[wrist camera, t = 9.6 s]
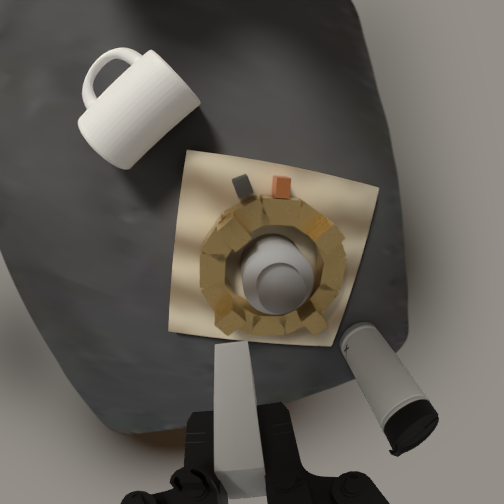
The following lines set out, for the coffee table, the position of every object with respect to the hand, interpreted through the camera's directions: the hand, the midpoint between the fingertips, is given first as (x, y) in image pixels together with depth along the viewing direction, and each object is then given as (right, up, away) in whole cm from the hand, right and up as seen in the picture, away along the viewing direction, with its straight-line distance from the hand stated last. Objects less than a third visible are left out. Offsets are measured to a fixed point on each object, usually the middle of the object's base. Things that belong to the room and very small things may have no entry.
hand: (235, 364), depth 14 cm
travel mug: (+16, -8, +28) cm, 34 cm away
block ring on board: (+3, +5, +22) cm, 23 cm away
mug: (-12, +22, +15) cm, 30 cm away
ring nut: (+3, +5, +20) cm, 21 cm away
